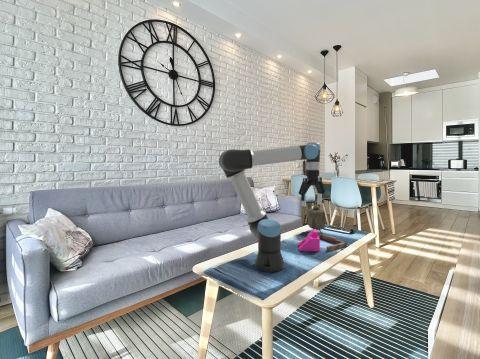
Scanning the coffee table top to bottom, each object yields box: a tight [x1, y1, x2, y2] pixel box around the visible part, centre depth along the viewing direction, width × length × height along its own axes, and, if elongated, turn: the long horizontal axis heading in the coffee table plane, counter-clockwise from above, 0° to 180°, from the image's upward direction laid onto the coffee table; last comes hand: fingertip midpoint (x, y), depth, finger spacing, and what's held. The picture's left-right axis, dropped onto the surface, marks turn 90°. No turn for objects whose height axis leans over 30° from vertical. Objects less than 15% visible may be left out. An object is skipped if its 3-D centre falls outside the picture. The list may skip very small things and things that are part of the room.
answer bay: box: [303, 233, 348, 252], centre depth 162 cm, size 16×22×3 cm
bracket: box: [297, 229, 321, 252], centre depth 155 cm, size 12×10×10 cm
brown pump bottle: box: [307, 199, 326, 235], centre depth 186 cm, size 14×9×25 cm, turn 179°
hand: (311, 205), depth 147 cm, fingers open, 13 cm apart
